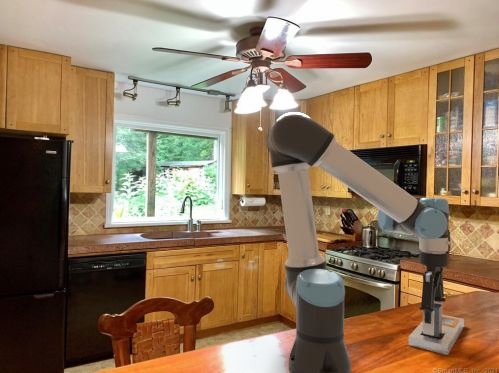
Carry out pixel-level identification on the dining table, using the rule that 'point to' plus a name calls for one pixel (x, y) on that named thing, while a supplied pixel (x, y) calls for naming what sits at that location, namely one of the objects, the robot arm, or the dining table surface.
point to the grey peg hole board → (449, 336)
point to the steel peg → (437, 322)
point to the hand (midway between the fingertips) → (432, 328)
